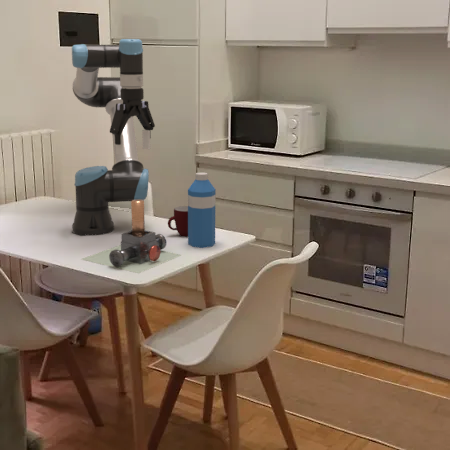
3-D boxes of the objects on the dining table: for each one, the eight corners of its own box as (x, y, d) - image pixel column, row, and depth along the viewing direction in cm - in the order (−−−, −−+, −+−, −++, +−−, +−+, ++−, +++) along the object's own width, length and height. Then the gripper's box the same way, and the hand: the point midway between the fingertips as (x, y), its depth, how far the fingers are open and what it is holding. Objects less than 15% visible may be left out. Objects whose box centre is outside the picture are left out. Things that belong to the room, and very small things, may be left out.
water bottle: (187, 241, 241) (187, 171, 235) (214, 240, 242) (214, 170, 236) (188, 249, 232) (188, 176, 226) (216, 248, 233) (216, 176, 227)
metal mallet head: (106, 265, 214) (105, 239, 212) (151, 248, 232) (150, 223, 229) (132, 271, 208) (132, 245, 206) (176, 253, 226) (176, 228, 224)
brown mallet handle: (129, 241, 218) (128, 201, 215) (137, 238, 222) (136, 198, 218) (139, 243, 216) (138, 203, 213) (147, 240, 220) (146, 200, 216)
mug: (174, 240, 242) (174, 213, 239) (164, 235, 248) (163, 208, 246) (200, 236, 247) (200, 209, 244) (189, 231, 254) (189, 205, 251)
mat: (80, 260, 220) (80, 259, 220) (126, 243, 237) (126, 242, 237) (138, 274, 207) (138, 273, 207) (182, 256, 225) (182, 254, 225)
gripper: (114, 90, 214) (117, 157, 220) (164, 86, 234) (165, 147, 240) (97, 89, 218) (99, 155, 224) (147, 84, 238) (148, 145, 244)
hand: (133, 151), depth 232 cm, fingers open, 13 cm apart
